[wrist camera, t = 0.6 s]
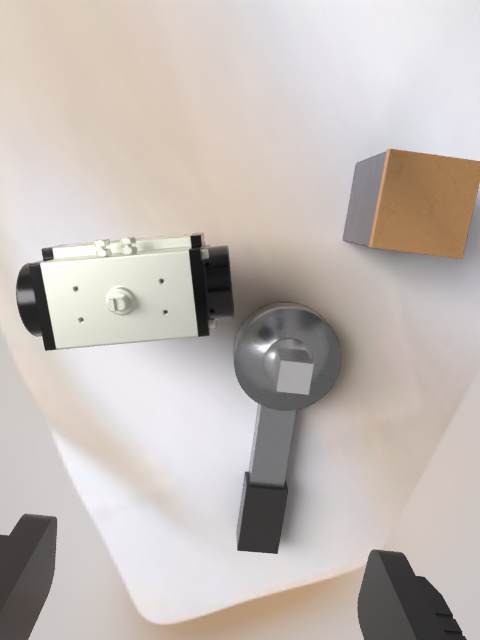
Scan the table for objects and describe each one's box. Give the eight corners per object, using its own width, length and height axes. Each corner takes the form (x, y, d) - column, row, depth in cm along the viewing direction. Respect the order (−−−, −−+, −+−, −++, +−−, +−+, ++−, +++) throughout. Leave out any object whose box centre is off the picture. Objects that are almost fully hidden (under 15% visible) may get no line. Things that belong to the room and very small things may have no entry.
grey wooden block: (355, 162, 33) (390, 148, 26) (430, 172, 33) (484, 161, 26) (342, 240, 34) (371, 247, 27) (414, 250, 34) (461, 258, 28)
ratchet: (240, 296, 35) (243, 313, 29) (341, 308, 35) (364, 327, 29) (210, 530, 39) (208, 585, 34) (300, 537, 40) (313, 593, 34)
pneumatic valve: (232, 297, 35) (236, 339, 23) (81, 310, 35) (8, 360, 23) (225, 224, 33) (226, 230, 22) (69, 238, 33) (-15, 251, 22)
